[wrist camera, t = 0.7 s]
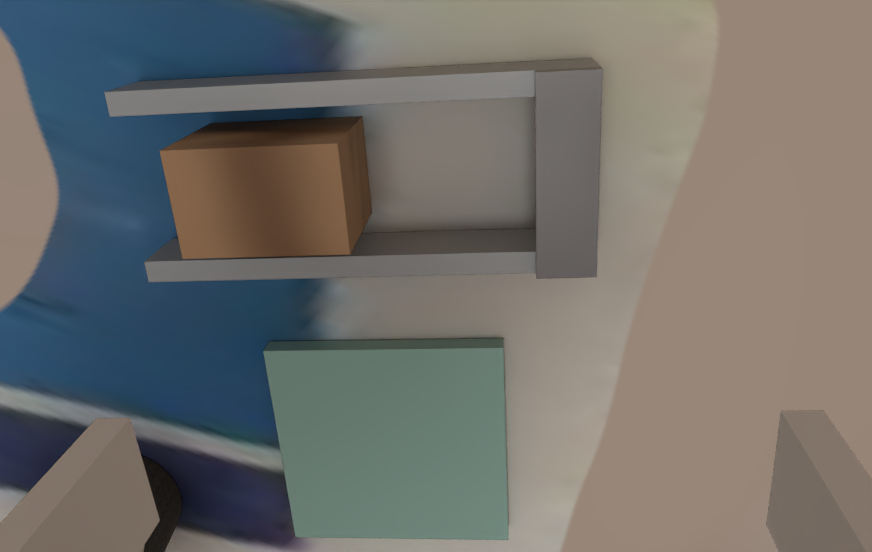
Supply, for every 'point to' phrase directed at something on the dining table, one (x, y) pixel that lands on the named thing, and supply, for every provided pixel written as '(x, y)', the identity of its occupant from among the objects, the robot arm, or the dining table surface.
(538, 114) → the grey channel
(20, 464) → the dining table surface
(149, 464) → the coffee cup
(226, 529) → the dining table surface
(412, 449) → the teal coaster
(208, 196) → the walnut block
